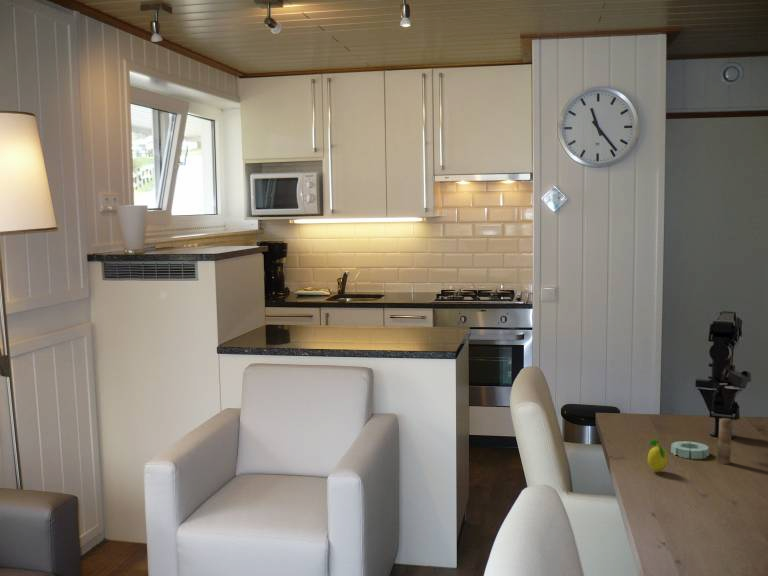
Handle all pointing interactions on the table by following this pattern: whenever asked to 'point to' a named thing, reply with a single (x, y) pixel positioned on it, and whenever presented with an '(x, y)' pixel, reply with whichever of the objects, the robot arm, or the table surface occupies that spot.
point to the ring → (690, 449)
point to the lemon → (657, 456)
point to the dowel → (724, 440)
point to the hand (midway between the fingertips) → (719, 411)
